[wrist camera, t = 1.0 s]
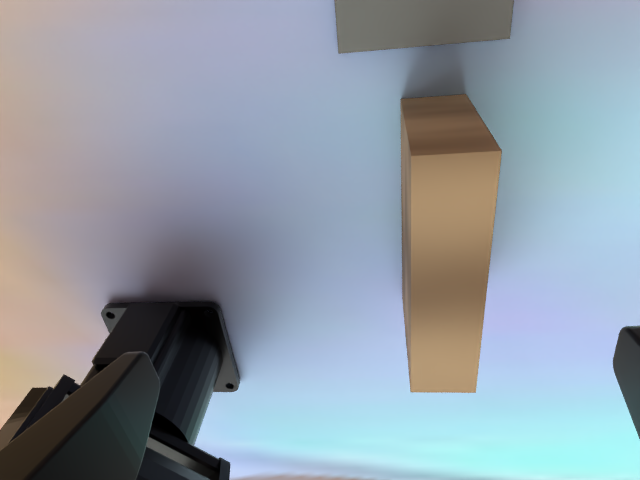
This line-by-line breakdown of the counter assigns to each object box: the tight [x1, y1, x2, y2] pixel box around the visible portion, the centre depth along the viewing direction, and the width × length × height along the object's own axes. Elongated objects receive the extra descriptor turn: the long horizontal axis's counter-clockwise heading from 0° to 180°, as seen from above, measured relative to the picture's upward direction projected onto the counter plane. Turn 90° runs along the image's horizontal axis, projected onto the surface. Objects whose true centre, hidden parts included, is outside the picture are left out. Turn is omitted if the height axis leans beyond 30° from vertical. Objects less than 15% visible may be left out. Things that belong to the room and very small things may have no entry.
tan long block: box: [401, 94, 502, 393], centre depth 19 cm, size 10×2×6 cm, turn 6°
